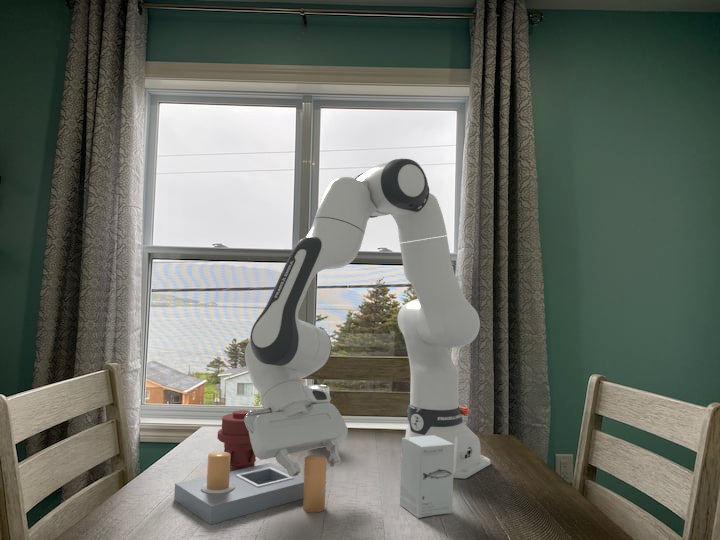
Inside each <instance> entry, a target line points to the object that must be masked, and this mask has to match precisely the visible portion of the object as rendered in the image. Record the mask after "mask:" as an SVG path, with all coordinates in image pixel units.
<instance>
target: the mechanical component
mask: <svg viewBox="0 0 720 540" xmlns="http://www.w3.org/2000/svg"><path fill="white" fill-rule="evenodd" d="M250 411H251V410H246V409H245V410H244V409H243V410H241V409H239V410H235V411H233V412H232V413H228V414H226V415H223V416H222V417H221V418H222V419H221V429H219V430H218V431H217V440H218V441H220V442H221V443H222V444H223V445H224V446H223V448H224V450H223V452H228V453H230V454H231V456H230V471H235V470H239V469H244V468H249V467H253V466H256V465H255V462H256V461H257V459H256V458H257V457H256V456H255V454H254V452H253V448H252V445H251V441H250V436H249V431H248V430H247V428H246V425H245V423H244V418H245V416H246V415H247V414H248V413H249V412H250Z"/></svg>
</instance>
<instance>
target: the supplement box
mask: <svg viewBox="0 0 720 540" xmlns="http://www.w3.org/2000/svg"><path fill="white" fill-rule="evenodd" d="M400 453H401V455H400V484H399V485H400V486H399V487H400V488H399V490H400V491H399V505H401V507H402V508H404V509H405V510H407V511H408V512H409V513H411V514H412V515H414V517H416V518H418V519H420V518H425V517H431V516H440V515H446V514H447V515H449V514H452V513H453V502H454V501H453V500H454V499H453V496H454V495H453V493H454V478H453V471H454V444H453V443H451V442H449V441H446V440H444V439H442V438H440V437H437V436H435V435H432V436H418V437H405V436H404V437H402V438H401V452H400Z"/></svg>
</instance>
